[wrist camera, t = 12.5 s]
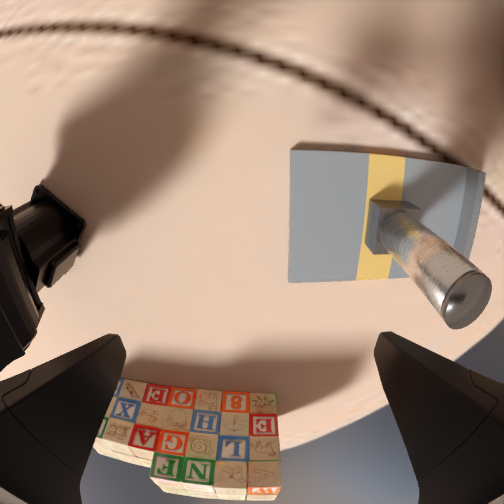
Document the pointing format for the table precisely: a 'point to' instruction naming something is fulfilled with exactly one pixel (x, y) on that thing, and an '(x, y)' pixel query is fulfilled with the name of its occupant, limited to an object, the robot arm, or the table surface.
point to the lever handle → (428, 261)
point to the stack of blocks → (196, 439)
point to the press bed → (357, 203)
